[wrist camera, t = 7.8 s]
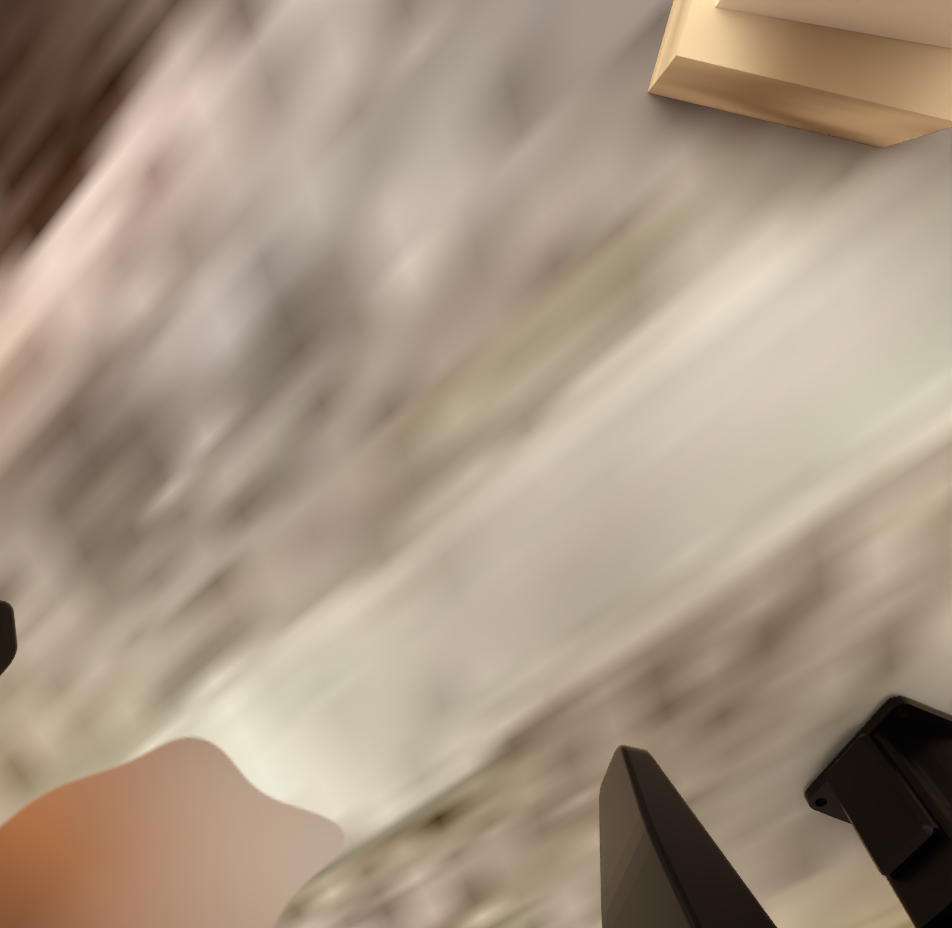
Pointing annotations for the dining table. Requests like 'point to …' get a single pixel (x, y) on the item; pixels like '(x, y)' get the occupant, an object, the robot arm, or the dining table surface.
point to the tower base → (804, 74)
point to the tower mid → (863, 16)
